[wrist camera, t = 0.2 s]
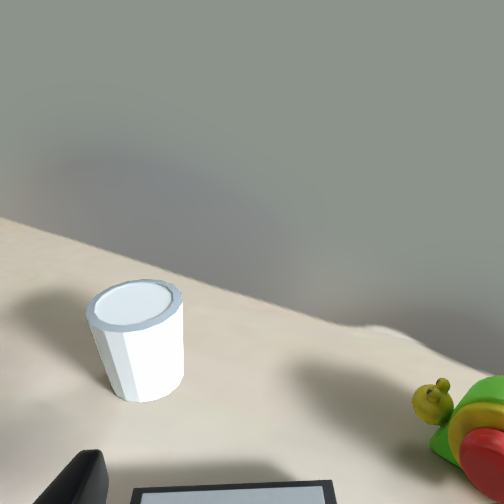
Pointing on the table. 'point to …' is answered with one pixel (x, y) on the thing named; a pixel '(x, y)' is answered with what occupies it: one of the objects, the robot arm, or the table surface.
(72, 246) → the table surface
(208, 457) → the table surface
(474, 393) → the toy measuring tape
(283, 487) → the scale
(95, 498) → the robot arm
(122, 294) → the white cylinder
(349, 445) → the table surface
